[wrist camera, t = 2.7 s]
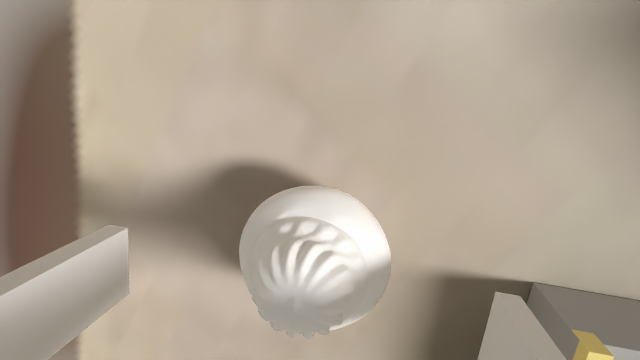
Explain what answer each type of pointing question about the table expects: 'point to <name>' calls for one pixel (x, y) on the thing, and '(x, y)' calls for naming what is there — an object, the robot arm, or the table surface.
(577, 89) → the table surface
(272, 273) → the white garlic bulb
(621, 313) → the dock
